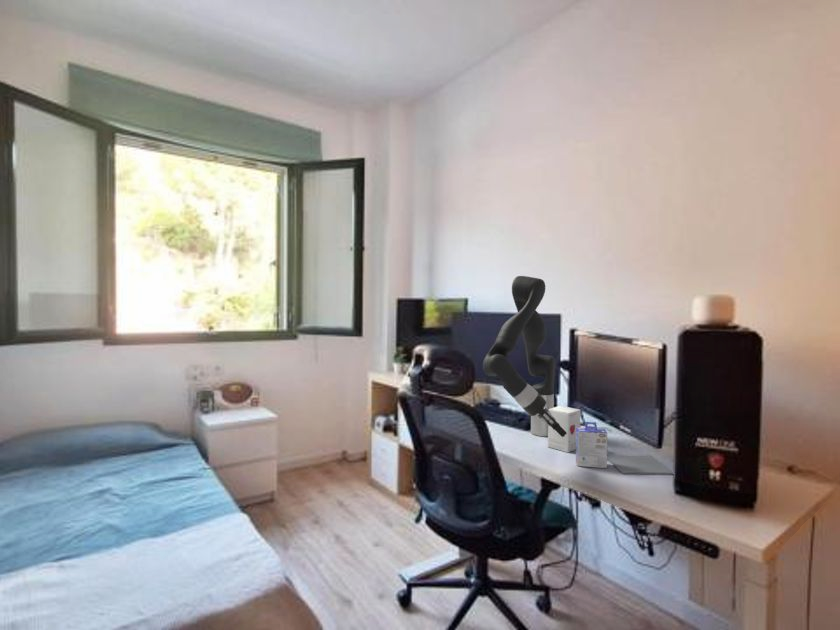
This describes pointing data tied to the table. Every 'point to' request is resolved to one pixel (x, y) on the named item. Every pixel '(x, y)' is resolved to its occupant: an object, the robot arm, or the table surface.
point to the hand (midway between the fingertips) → (564, 434)
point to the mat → (638, 464)
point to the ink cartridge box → (591, 446)
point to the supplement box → (569, 423)
